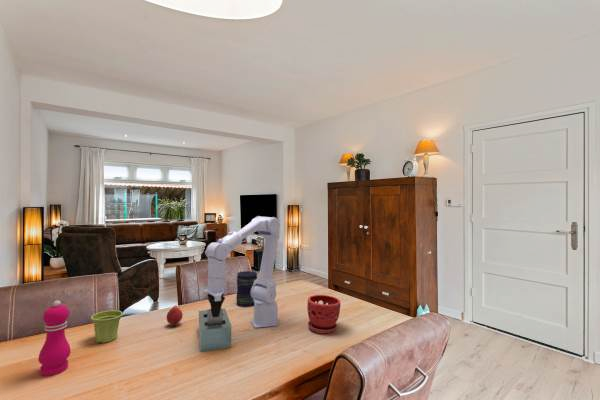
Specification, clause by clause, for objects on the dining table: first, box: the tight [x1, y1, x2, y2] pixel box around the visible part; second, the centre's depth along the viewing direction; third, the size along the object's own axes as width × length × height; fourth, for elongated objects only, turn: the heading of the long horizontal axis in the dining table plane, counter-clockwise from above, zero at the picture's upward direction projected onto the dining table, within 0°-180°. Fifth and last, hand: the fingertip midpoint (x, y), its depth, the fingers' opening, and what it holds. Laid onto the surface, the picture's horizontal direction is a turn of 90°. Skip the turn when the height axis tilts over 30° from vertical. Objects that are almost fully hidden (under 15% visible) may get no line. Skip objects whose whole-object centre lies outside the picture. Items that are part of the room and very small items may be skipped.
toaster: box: [197, 308, 232, 353], centre depth 111 cm, size 10×19×7 cm, turn 20°
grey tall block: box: [206, 307, 223, 326], centre depth 107 cm, size 5×2×5 cm, turn 110°
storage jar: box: [235, 270, 258, 308], centre depth 149 cm, size 10×10×15 cm
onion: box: [166, 304, 183, 327], centre depth 121 cm, size 6×6×8 cm
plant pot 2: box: [307, 294, 341, 334], centre depth 121 cm, size 13×13×12 cm
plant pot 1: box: [90, 309, 124, 344], centre depth 107 cm, size 9×9×9 cm
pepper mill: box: [38, 299, 72, 377], centre depth 88 cm, size 7×7×20 cm
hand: (215, 315), depth 107 cm, fingers closed on grey tall block, 2 cm apart
